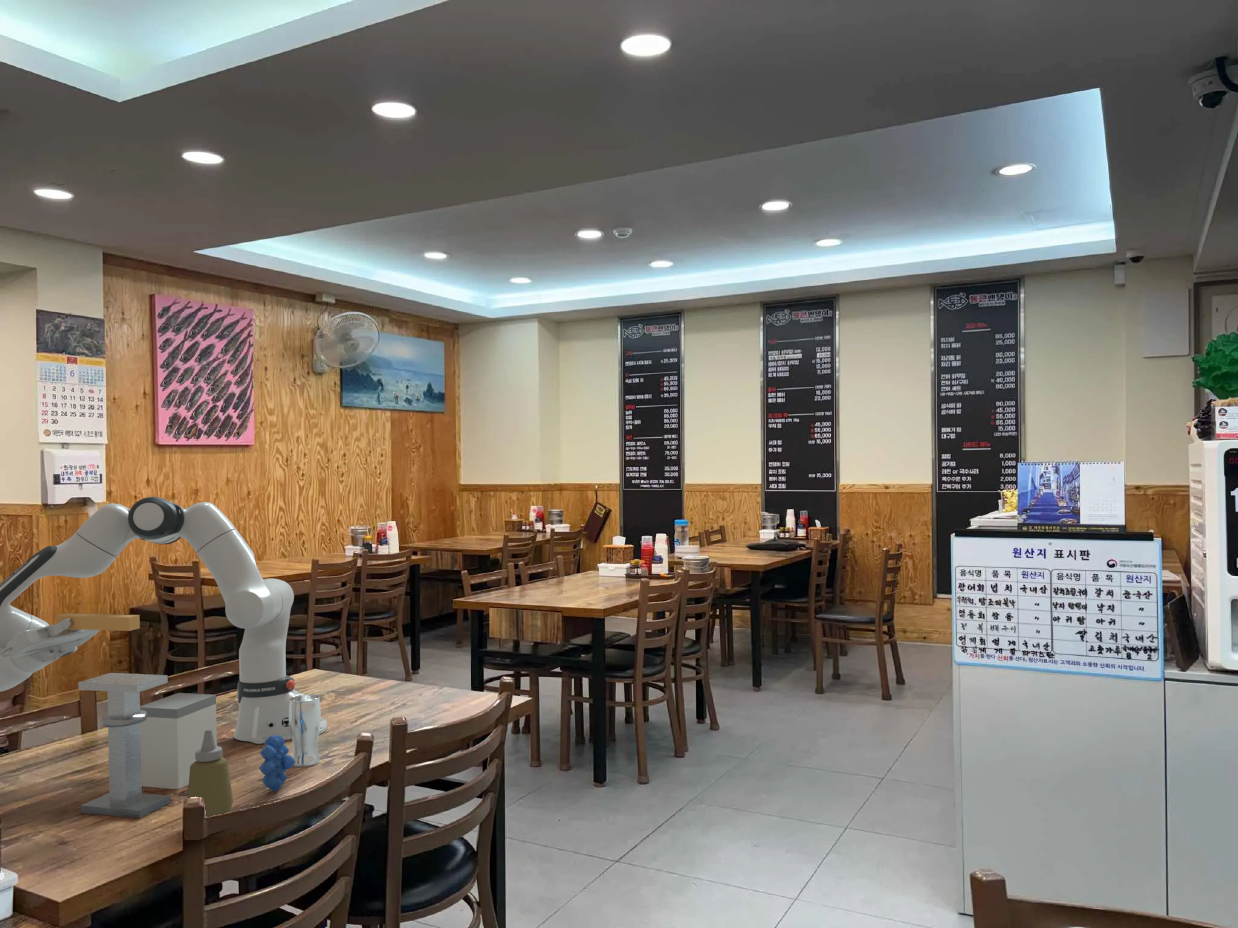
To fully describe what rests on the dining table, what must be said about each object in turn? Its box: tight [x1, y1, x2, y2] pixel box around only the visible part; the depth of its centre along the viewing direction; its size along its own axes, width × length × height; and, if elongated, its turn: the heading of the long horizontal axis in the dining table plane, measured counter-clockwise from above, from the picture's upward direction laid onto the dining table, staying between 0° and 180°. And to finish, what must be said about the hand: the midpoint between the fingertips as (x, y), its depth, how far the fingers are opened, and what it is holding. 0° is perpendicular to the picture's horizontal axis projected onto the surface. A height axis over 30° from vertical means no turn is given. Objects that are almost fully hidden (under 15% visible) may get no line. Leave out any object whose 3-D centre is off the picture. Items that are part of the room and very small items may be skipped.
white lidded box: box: [140, 692, 218, 790], centre depth 195 cm, size 10×12×17 cm
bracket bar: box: [55, 612, 141, 632], centre depth 200 cm, size 20×3×3 cm, turn 76°
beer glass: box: [289, 693, 322, 768], centre depth 203 cm, size 7×7×15 cm
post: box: [77, 672, 171, 819], centre depth 178 cm, size 14×8×26 cm, turn 76°
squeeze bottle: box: [186, 730, 234, 817], centre depth 168 cm, size 8×8×18 cm
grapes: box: [258, 735, 295, 792], centre depth 186 cm, size 12×7×12 cm, turn 2°
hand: (78, 619), depth 201 cm, fingers closed on bracket bar, 3 cm apart
